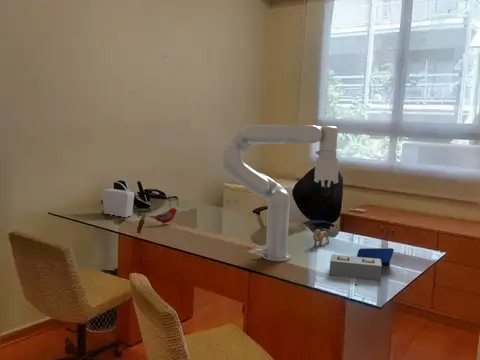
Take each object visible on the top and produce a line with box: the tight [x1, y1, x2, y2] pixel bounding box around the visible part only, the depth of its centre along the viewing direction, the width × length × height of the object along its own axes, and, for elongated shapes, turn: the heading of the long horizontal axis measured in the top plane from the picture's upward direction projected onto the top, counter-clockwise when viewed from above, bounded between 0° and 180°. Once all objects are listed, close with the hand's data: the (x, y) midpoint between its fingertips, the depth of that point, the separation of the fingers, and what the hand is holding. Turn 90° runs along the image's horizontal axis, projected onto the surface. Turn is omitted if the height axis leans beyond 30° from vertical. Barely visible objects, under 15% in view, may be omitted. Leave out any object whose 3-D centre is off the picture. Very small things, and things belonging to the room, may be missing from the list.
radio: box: [101, 175, 135, 218], centre depth 299 cm, size 22×8×25 cm, turn 58°
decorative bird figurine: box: [146, 207, 178, 226], centre depth 276 cm, size 3×18×10 cm, turn 112°
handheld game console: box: [356, 247, 395, 267], centre depth 214 cm, size 16×13×9 cm
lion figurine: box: [312, 229, 330, 248], centre depth 244 cm, size 15×5×9 cm, turn 151°
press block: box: [329, 254, 383, 281], centre depth 200 cm, size 20×10×6 cm, turn 76°
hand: (325, 195), depth 217 cm, fingers closed
